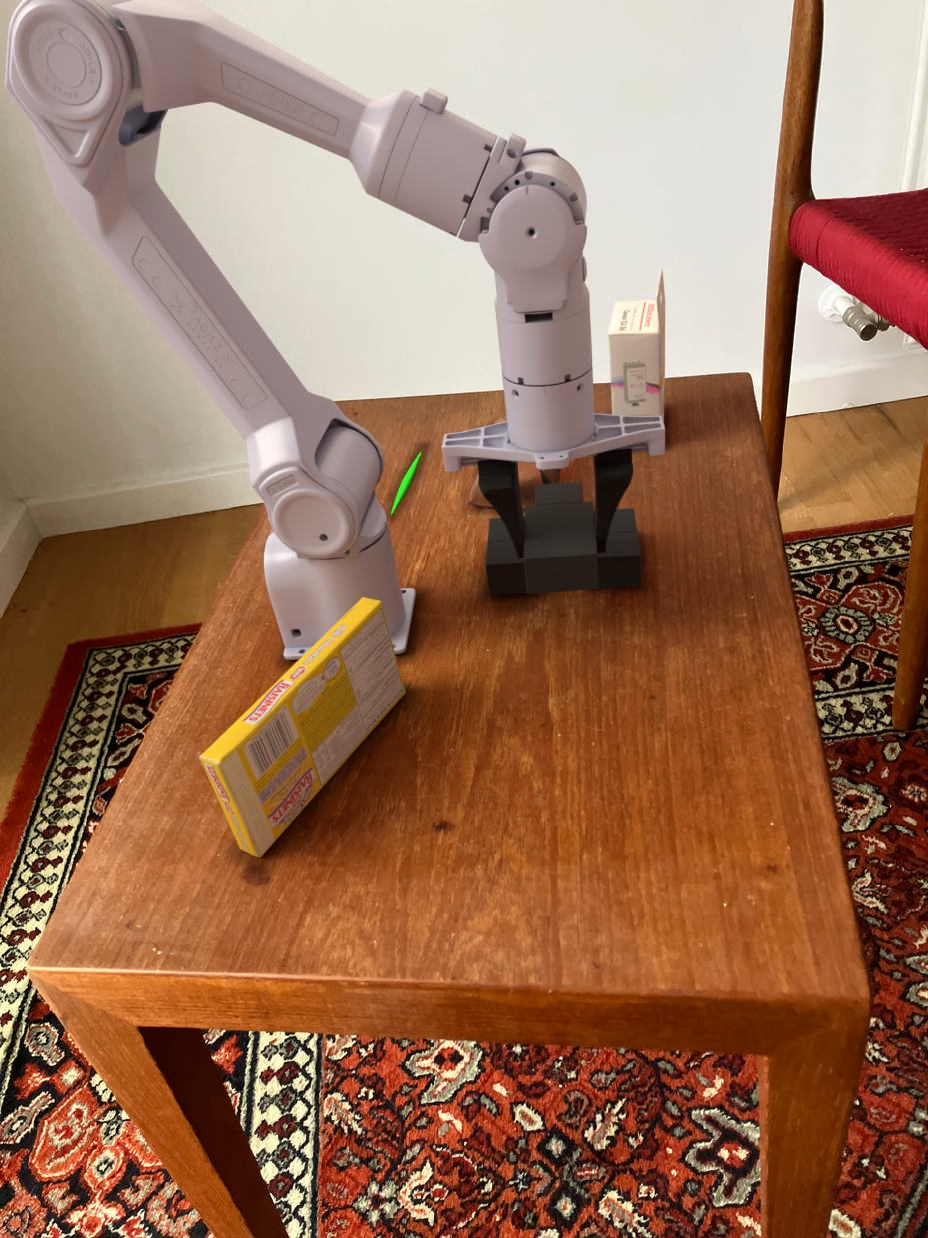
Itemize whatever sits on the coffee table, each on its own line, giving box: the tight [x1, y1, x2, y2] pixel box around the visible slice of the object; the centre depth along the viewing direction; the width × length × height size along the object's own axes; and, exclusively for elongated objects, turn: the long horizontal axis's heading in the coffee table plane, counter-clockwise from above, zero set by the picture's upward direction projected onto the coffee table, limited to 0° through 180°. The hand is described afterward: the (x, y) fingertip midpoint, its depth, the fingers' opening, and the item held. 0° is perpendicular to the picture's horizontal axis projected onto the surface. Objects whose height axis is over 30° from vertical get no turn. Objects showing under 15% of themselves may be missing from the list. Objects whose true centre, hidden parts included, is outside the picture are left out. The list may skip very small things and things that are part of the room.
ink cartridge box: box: [607, 268, 666, 423], centre depth 91 cm, size 9×5×15 cm, turn 168°
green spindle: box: [390, 451, 422, 515], centre depth 93 cm, size 1×14×1 cm, turn 169°
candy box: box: [198, 597, 407, 858], centre depth 60 cm, size 16×2×8 cm, turn 149°
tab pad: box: [524, 480, 600, 595], centre depth 69 cm, size 5×10×3 cm, turn 176°
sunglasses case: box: [468, 414, 562, 510], centre depth 92 cm, size 18×7×7 cm
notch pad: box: [485, 507, 642, 596], centre depth 77 cm, size 12×7×3 cm, turn 86°
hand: (560, 547), depth 68 cm, fingers closed on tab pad, 5 cm apart
